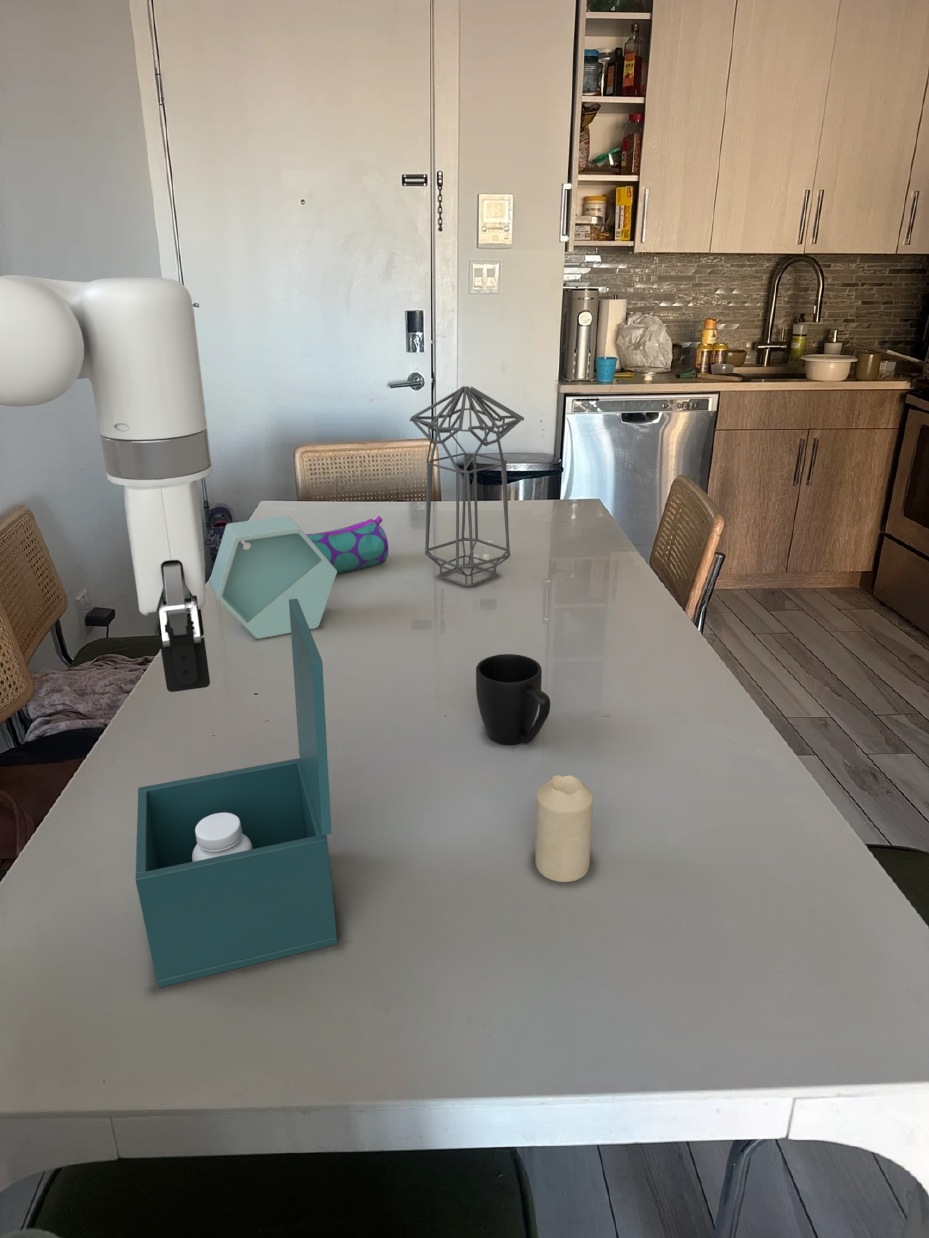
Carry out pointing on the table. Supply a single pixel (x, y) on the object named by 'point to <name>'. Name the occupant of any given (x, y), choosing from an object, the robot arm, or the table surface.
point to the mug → (511, 698)
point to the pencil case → (353, 545)
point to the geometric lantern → (466, 472)
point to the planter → (271, 575)
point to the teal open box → (232, 873)
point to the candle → (563, 828)
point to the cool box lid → (310, 713)
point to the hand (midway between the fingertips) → (187, 661)
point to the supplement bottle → (219, 837)
